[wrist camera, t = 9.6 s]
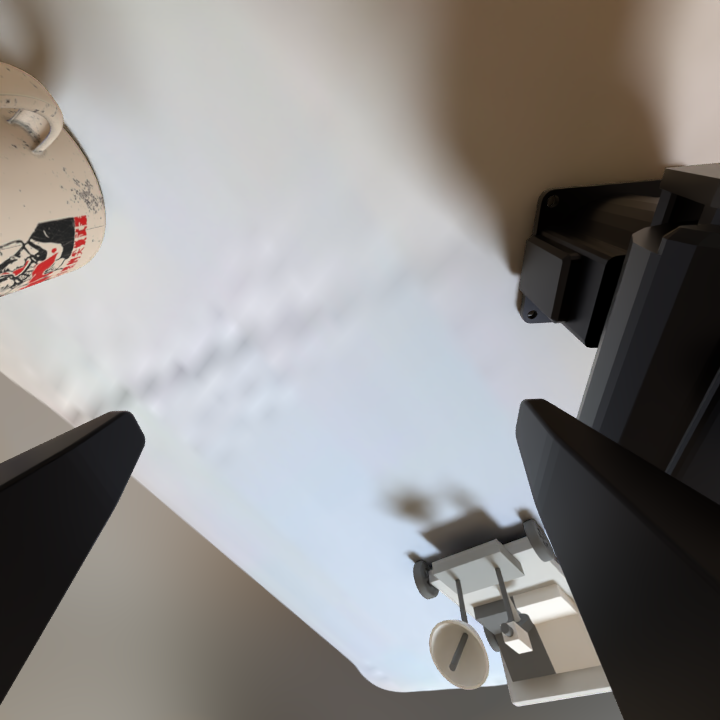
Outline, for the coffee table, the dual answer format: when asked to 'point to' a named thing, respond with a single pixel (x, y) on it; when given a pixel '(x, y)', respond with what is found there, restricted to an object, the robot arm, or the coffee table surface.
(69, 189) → the teacup with lid
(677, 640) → the robot arm
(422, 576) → the toy rover
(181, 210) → the coffee table surface
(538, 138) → the coffee table surface
